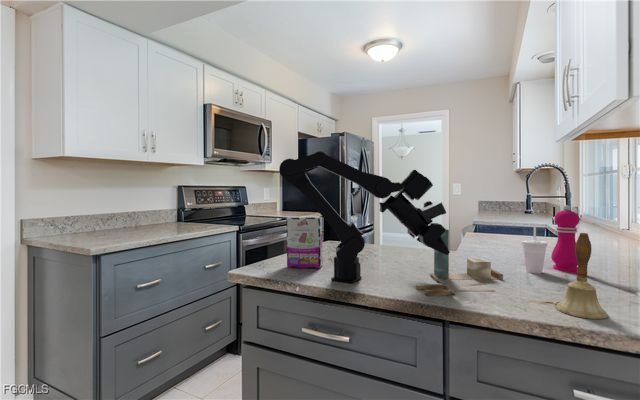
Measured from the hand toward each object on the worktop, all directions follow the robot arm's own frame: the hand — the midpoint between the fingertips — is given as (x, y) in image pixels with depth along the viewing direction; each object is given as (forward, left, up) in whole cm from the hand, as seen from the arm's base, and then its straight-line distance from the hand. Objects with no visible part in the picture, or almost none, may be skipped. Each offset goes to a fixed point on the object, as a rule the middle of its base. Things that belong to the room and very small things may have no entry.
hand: (446, 252), depth 92 cm
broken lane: (+4, -10, -8) cm, 13 cm away
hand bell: (+28, -11, -8) cm, 31 cm away
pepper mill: (+28, +26, -8) cm, 39 cm away
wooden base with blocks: (+4, +3, -8) cm, 9 cm away
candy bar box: (-43, -7, -8) cm, 44 cm away
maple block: (+7, +4, -7) cm, 11 cm away
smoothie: (+20, +18, -8) cm, 28 cm away
